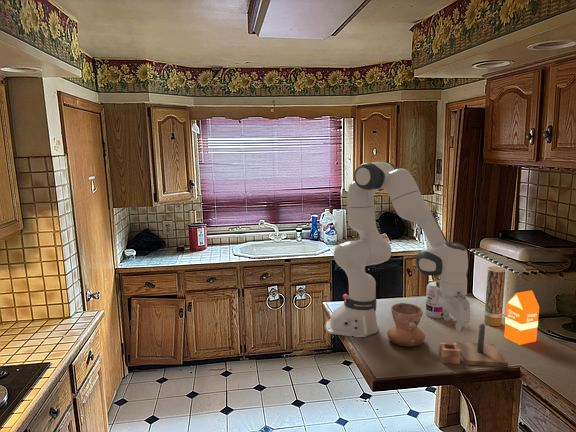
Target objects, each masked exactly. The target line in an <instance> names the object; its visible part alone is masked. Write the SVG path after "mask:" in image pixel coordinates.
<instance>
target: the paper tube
mask: <svg viewBox="0 0 576 432" xmlns="http://www.w3.org/2000/svg"><path fill="white" fill-rule="evenodd" d="M505 282H506V268H505V267H501V266H488V267H487V278H486V291H485V292H486V293H485V305H484V306H485V307H484V320H483V321H484V323H485V324H486V325H487V326H491V327H499V326H501V325H502V322H503V321H502V320H503V319H502V318H503V310H504V309H503V308H504V296H505V295H504V294H505V284H506V283H505Z"/></svg>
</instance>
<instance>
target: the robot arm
mask: <svg viewBox="0 0 576 432" xmlns="http://www.w3.org/2000/svg"><path fill="white" fill-rule="evenodd" d="M384 190H385V191H386V193H387V194H388V195H389V198H390V201H391V204H392V207H393V208H394V211H395V213H396V214H397V215H398V216H399V217H400V218H401V219H403V220H406V221H409V222H412V223H414V224H416V225H418V226H419V227H420V229H421V230H422V231H423V234H424V235H425V237H426V240H427V241H428V243H429V245H430V248H426V249H424V250H422V251H420V252H418V254H417V255H416V257H415V266H416V269H417V270H418V272H420V273H421V274H422V275H424V276H430V277H431V276H432V277H433V276H434V277H436V276H439V277H440V280H439V279H438V280H435V282H436V286H437V302H438V304H439V305H440V306H441V307H442V310H443V314H444V316H443V319H444V321H450V320H451V317H453V318H454V319H455V322H456V323H455V324H454V329H455V331H456V332H461V331H462V326H463V325H464V324H467V323H469V322H470V321H471V306H470V305H471V304H470V301H469V300H468V299H467V297H466V296H467V293H468V278H467V277H468V276H467V273H468V269H469V257H468V256H469V255H468V250H467V248H466V247H465V246H464V245H463V244H461V243H460V242H456V241H455V242H453V241H448V240H447V237H446V236H445V234H444V232H443V231H442V230H443V229H441V226H440V225H439V223H438V221H437V219H436V216H435V215H434V213H433V212H432V210H431V209H430V208H429V207H428V205H427V204H426V201H425V199H424V198H423V196H422V193H421V191H420V188H419V186H418V184H417V182H416V180H415V178H414V177H413V175H412V174H411V173H410V171H409V170H408V169H406V168H397V166H395V164H393V163H391V162H387V161H373V162H372V161H371V162H365V163H362V164H359V165H358V166H357V167H356V168H355V170H354V172H353V181H352V182H350V183H349V185H348V189H347V198H346V199H347V201H346V202H347V203H346V204H347V205H346V207H347V210H346V211H347V224H348V226H349V228H350V229H351V230H353V231H355V232H357V233H358V236H359V239H358V240H349V241H345V242H341V243H340V244H337V245H336V246H335V248H334V251H333V259H334V261H335V263H336V264H337V266H339V267H340V268H341V269H342V270H343V271H344V272H345V274H346V276H347V279H348V294H347V293H344V294H343V295H342V298H343V304H342V305H340V306H338V307H337V308H335V309H334V310H333V312H332V314H331V316H330V318H329V319H328V320H327V321H326V322H325V330H326V332H327V333H328V334H331V335H337V336H346V337H352V336H354V337H353V338H359V337H365V338H367V337H368V336H371V335H374V334H376V333H378V331H379V325H378V322H377V315H376V310H377V304H378V303H377V297H376V285H377V283H376V280H375V278H374V277H373V276H372V275H371V274H369V273H367V272H366V266H374V265H379V264H382V263H384V262H387V261H389V260H390V258H391V255H392V247H391V245H390V243H389V241H388V240H387V239H385V238H384V237H383V236H382V235H381V234H380V231H379V229H378V227H377V224H376V223H377V222H376V212H375V194H376V193H377V192H378V191H379V192H381V191H384ZM366 336H367V337H366Z"/></svg>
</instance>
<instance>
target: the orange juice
mask: <svg viewBox="0 0 576 432" xmlns="http://www.w3.org/2000/svg"><path fill="white" fill-rule="evenodd" d="M505 312H506V313H505V319H504V321H505V322H504V333H503V334H504V336H503V337H504V338H505V339H507V340H509V341H511V342H512V343H515V344H517V345H520V346H521V345H526V344H529V343H535V342H536V341H537V337H538V336H537V335H538V327H539V314H540V305H539V303H538V300H537V298H536V296H535V294H534V292H533V289H532V290H526V291H520V292H515V294H514V295H513V296H512V297H511V298H510V299H509V300H508V302H507V303H506V310H505Z"/></svg>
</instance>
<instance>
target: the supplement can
mask: <svg viewBox="0 0 576 432" xmlns="http://www.w3.org/2000/svg"><path fill="white" fill-rule="evenodd" d="M425 296H426V297H425V298H426V299H425V314H426V316H428V317H429V318H432V319H442V318H444V314H443V310H442V307H441V306H440V305H439V304H438V302H437V286H436V281H430V282H429V281H428V284H427V285H426V295H425Z"/></svg>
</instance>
